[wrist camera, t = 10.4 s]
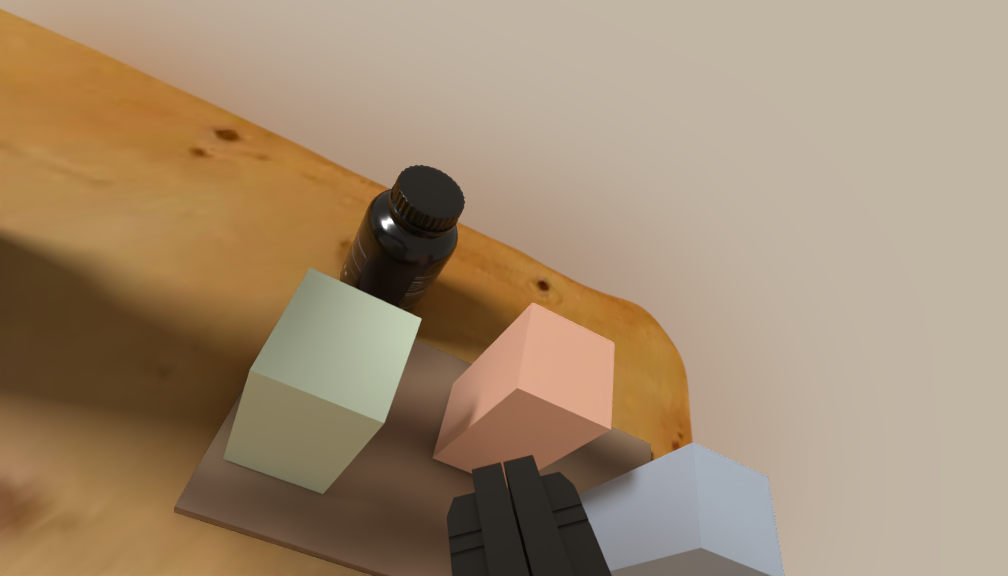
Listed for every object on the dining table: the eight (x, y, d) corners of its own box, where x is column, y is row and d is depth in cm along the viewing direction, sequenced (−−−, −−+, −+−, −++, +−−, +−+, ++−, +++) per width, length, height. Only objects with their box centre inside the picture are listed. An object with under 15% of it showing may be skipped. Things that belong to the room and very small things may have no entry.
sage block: (322, 494, 32) (384, 423, 23) (222, 459, 30) (249, 369, 22) (358, 406, 36) (421, 318, 27) (271, 371, 34) (310, 267, 26)
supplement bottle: (415, 261, 47) (474, 167, 39) (421, 329, 43) (487, 241, 35) (337, 248, 44) (382, 142, 35) (336, 319, 40) (386, 220, 32)
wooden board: (642, 661, 37) (653, 660, 36) (174, 511, 29) (174, 506, 28) (642, 448, 48) (650, 444, 47) (298, 296, 40) (301, 288, 39)
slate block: (643, 605, 38) (785, 581, 29) (573, 580, 36) (700, 547, 28) (643, 519, 42) (768, 476, 33) (580, 494, 40) (693, 442, 32)
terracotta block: (508, 487, 38) (610, 429, 29) (432, 458, 36) (517, 387, 28) (521, 413, 42) (614, 342, 33) (453, 383, 40) (532, 302, 32)
